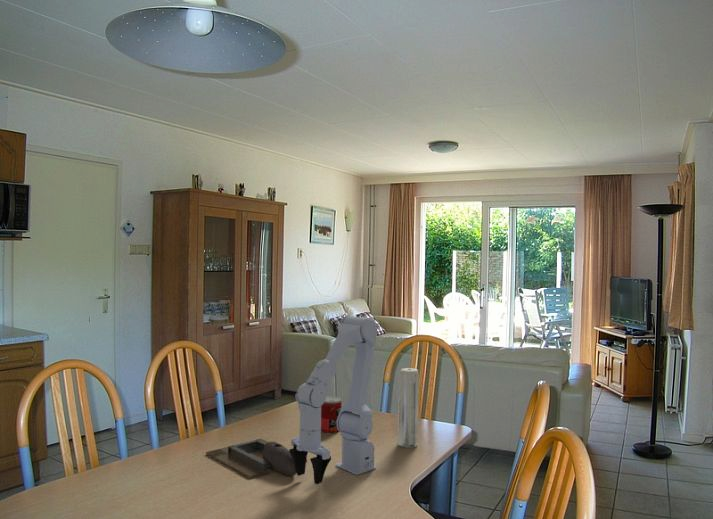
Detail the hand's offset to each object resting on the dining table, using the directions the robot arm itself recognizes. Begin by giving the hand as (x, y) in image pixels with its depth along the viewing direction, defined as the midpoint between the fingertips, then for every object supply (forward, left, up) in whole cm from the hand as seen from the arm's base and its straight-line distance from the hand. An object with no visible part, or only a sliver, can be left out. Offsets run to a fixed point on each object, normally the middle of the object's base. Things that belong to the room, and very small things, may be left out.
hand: (309, 478), depth 151 cm
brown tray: (+26, 0, -2) cm, 26 cm away
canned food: (+34, -36, -2) cm, 49 cm away
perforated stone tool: (+13, 0, -2) cm, 13 cm away
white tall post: (+5, -45, -2) cm, 45 cm away
